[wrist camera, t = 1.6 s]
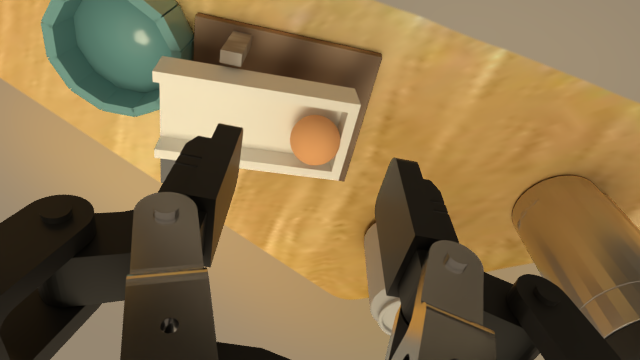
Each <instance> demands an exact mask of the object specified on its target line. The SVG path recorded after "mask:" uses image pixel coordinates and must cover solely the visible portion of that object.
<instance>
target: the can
mask: <svg viewBox="0 0 640 360" xmlns="http://www.w3.org/2000/svg"><path fill="white" fill-rule="evenodd" d="M364 249H365V259H366V270H367V280H368V291H369V301H370V310H371V314H372V315H373V318H374V319H375V320H376V321H377V322H378V324H379V326H380V328H381V330H383V331H384V332H385V333H386V334H388V335H390V336H391V332H392V328H393V324H394V320H395V316H396V313H397V311H398V309H399V307H400V305H401V302H400V298H398V297H392V296H386V290H385V283H384V276H383V268H382V261H381V254H380V247H379V240H378V233H377V226H376V223H375V224H373V225H372V226H371V227H370V228H369V229H368V230H367V232H366V235H365V237H364Z"/></svg>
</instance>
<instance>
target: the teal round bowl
mask: <svg viewBox="0 0 640 360" xmlns="http://www.w3.org/2000/svg"><path fill="white" fill-rule="evenodd" d="M177 4H178V3H177V2H176V1H175V0H51V1H50V3H49V6H48V8H47V10H46V12H45V14H44V16H43V18H42V20H41V21H42V22H41V26H42V32H43V38H44V43H45V49H46V55H47V57H49V58H48V60H49V61H50V63H51V64H52V65H53V67H54V68H55V70H56V71H57V72H58V74H59V75H60V77H61V78H62V79H63V81H64V82H65V84H66V85H67V86H68V88H69V89H70V88H72V89H71V91H73V92H74V93H76V94H77V95H79V96H80V97H82V98H83V99H85V100H86V101H88V102H89V103H91V104H92V105H94V106H95V107H97V108H98V109H100V110H101V109H102V111H106V112H112V113H117V114H122V115H127V116H132V117H135V116H136V117H137V116H140V115H143V114H147V113H150V112H153V111H156V110H159V109H160V86H159V83H156V82H153V77H152V71H153V69H154V68H155V66H156V65H157V63H158V62H159V60H160V58H161V57H162V56H167V57H173V58H178V59H184V60H190V61H194V34H193V32H192V30H191V28H190V26H189V24H188V21H187V19H186V17H185V15H184V13H183V11H182V9H181V7H180V5H177Z"/></svg>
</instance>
